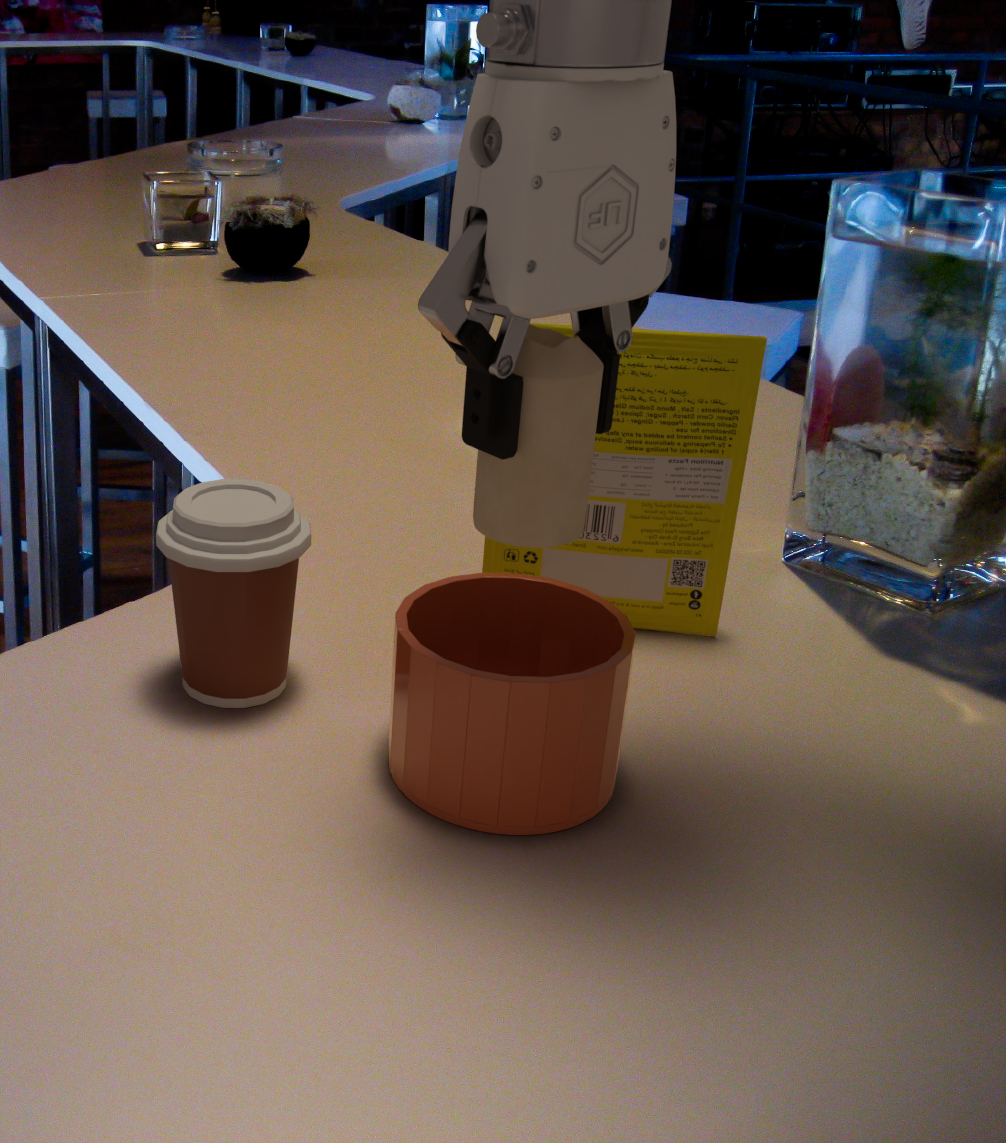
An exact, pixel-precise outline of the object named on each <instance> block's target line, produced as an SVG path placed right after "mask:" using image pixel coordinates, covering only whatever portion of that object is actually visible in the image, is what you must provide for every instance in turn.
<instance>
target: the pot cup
mask: <svg viewBox="0 0 1006 1143" xmlns="http://www.w3.org/2000/svg"><path fill="white" fill-rule="evenodd" d="M393 630H394V631H393V647H392V648H393V649H392V650H393V651H392V652H393V653H392V669H391V688H390V689H391V690H390V708H389V725H388V746H387V748H388V768H389V772H390V775H391V777H392V780H393V782H394V783H395V785H396V786H397V788H398V789H399V790H400V792H402V794H403V795H404V796H405V797H406V798H407V799H408V800H410V801H411V802H412V803H413V804H414V805H416V806H417V807H419V808H420V809H421V810H423V811H425V812H427V813H428V814H430V815H432V816H434V817H436V818H438V819H440V820H443V821H445V822H447V823H450V824H452V825H456V826H458V827H463V828H465V829H469V830H474V831H478V832H483V833H490V834H495V835H507V836H508V835H509V836H532V835H544V834H550V833H557V832H561V831H563V830H568V829H570V828H573V827H577V826H579V825H581V824H583V823H585V822H587V821H588V820H590V819H592V818H594V817H595V816H597V815H598V814H599V813H600V812H601V811H602V810H603V809H604V808H605V807H607V805H608V803H609V802H610V800H611V798H612V797H613V793H614V790H615V784H616V778H617V774H618V768H619V760H620V754H621V747H622V740H623V732H624V724H625V718H626V711H627V705H628V704H627V703H628V697H629V690H630V682H631V676H632V669H633V661H634V654H635V648H636V647H635V646H636V640H637V633H636V630H635V628H633V627H632V625H631V623H630V620H629V618H628V617H627V616H626V615H625V614H624V613H623V612H622V611H620V610H619V609H618V608H617V607H616V606H615V605H613V604H612V603H611V602H609V601H608V600H606V599H604V598H602V597H600V596H598V595H596V594H594V593H592V592H590V591H588V590H586V589H584V588H581V587H578V586H575V585H571V584H568V583H564V582H561V581H558V580H554V579H550V578H544V577H537V576H531V575H524V574H516V573H482V572H476V573H468V574H460V575H453V576H447V577H445V578H441V579H438V580H435V581H432V582H429V583H426V584H423V585H421V586H420V587H418V588H416V590H414V591H412V592H410V593H409V594H408V595H406V596H405V597H404V598H403V599H402V601H401V602H400V604H399V606H398V608H397V610H396V612H395V614H394V629H393Z"/></svg>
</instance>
